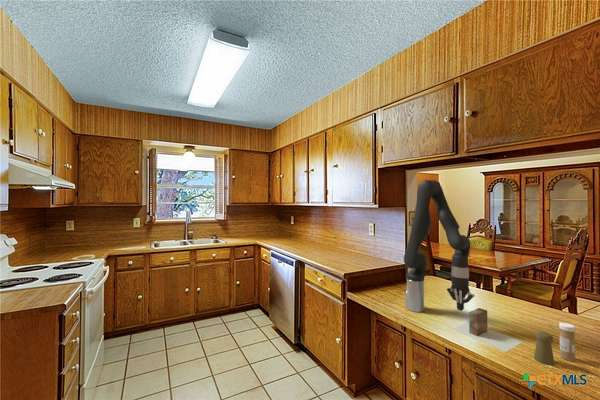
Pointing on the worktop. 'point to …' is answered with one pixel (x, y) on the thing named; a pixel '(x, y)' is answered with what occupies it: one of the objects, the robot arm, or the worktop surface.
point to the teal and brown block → (478, 321)
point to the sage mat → (490, 338)
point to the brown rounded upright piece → (544, 348)
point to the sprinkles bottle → (567, 341)
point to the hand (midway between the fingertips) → (460, 309)
